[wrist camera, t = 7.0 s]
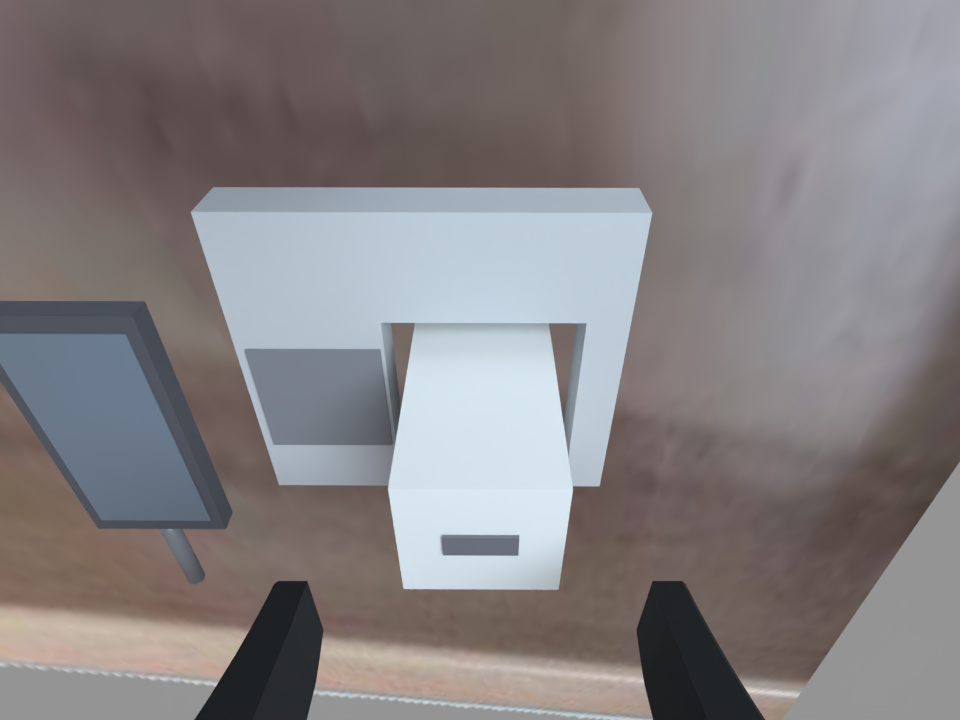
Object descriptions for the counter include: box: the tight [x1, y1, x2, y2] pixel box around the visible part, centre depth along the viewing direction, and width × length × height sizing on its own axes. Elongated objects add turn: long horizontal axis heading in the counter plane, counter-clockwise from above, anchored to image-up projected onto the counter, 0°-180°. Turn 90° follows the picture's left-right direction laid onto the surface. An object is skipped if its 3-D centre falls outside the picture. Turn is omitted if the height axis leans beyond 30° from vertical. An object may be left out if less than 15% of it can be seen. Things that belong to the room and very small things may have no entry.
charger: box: [388, 323, 573, 590], centre depth 17 cm, size 4×4×7 cm
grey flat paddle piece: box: [0, 301, 233, 585], centre depth 22 cm, size 5×14×1 cm, turn 0°
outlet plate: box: [191, 187, 652, 486], centre depth 18 cm, size 11×10×2 cm
